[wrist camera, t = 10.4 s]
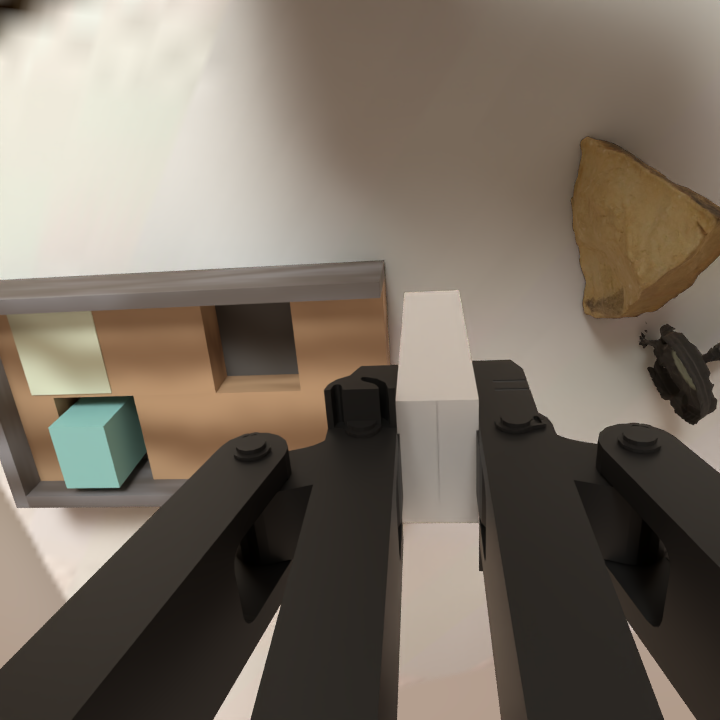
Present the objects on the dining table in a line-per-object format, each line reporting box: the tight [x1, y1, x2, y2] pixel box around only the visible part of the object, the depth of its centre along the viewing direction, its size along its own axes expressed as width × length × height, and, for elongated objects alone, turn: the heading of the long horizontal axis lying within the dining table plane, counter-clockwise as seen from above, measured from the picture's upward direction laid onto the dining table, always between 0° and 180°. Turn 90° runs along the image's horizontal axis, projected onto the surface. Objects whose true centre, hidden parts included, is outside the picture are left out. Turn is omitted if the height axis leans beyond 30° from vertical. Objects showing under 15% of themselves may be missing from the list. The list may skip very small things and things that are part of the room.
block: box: [48, 396, 147, 488], centre depth 46 cm, size 5×5×4 cm
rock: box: [571, 136, 720, 319], centre depth 37 cm, size 11×9×10 cm
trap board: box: [0, 260, 390, 508], centre depth 44 cm, size 16×28×5 cm, turn 94°
